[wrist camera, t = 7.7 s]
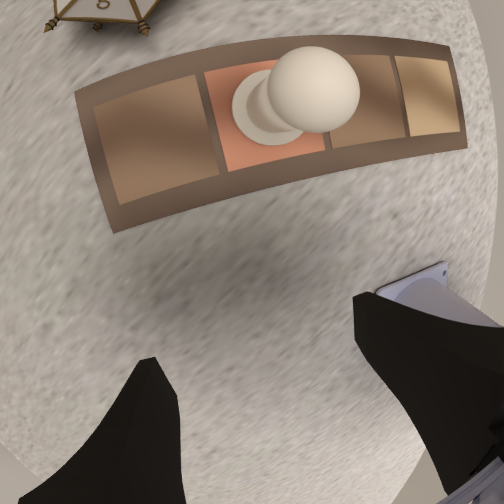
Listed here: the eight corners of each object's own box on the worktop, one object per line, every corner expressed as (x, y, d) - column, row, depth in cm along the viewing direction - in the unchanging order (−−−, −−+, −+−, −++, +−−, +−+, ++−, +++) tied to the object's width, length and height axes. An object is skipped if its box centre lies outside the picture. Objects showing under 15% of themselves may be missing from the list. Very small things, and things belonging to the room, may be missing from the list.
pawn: (313, 137, 17) (399, 138, 9) (241, 153, 16) (284, 159, 9) (296, 68, 15) (372, 23, 7) (223, 80, 15) (251, 26, 7)
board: (465, 147, 19) (468, 148, 19) (114, 232, 17) (112, 234, 16) (446, 46, 16) (450, 46, 16) (76, 92, 13) (73, 91, 13)
